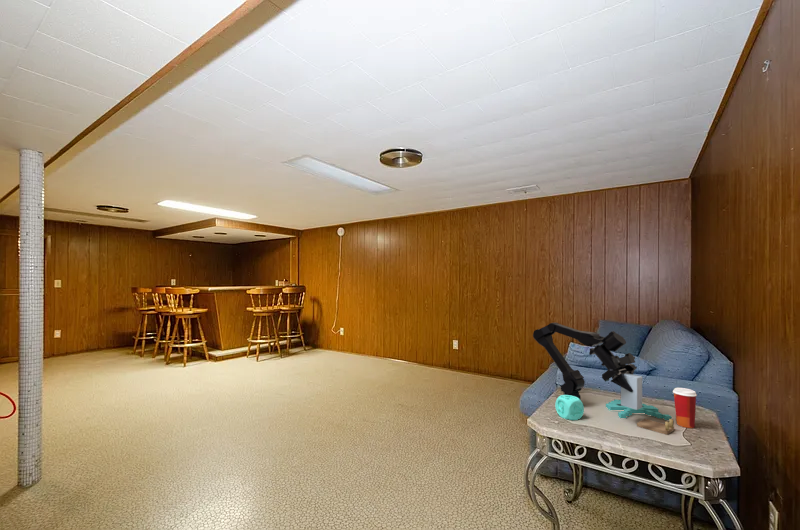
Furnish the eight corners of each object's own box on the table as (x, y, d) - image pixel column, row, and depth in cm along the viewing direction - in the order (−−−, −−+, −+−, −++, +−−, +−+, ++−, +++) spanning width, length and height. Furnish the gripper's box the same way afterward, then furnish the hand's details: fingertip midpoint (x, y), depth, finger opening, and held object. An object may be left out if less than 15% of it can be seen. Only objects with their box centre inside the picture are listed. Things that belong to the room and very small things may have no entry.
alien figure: (671, 421, 149) (643, 405, 168) (671, 416, 149) (643, 400, 169) (620, 419, 151) (599, 403, 170) (620, 414, 151) (599, 398, 171)
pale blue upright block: (620, 405, 147) (621, 374, 148) (626, 403, 150) (626, 373, 150) (636, 409, 142) (637, 378, 143) (642, 407, 145) (642, 376, 145)
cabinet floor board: (636, 426, 142) (636, 415, 143) (644, 421, 147) (644, 411, 147) (667, 435, 134) (667, 423, 134) (674, 429, 139) (674, 418, 139)
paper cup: (691, 422, 146) (690, 388, 147) (702, 430, 139) (701, 393, 140) (669, 421, 148) (668, 386, 149) (679, 428, 141) (678, 392, 141)
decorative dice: (584, 419, 149) (584, 399, 150) (568, 421, 147) (568, 401, 147) (570, 412, 157) (569, 394, 157) (555, 414, 155) (554, 395, 155)
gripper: (609, 348, 145) (640, 383, 136) (631, 344, 155) (661, 376, 146) (590, 364, 151) (617, 398, 142) (612, 359, 162) (639, 391, 152)
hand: (635, 390), depth 145 cm, fingers closed on pale blue upright block, 4 cm apart
